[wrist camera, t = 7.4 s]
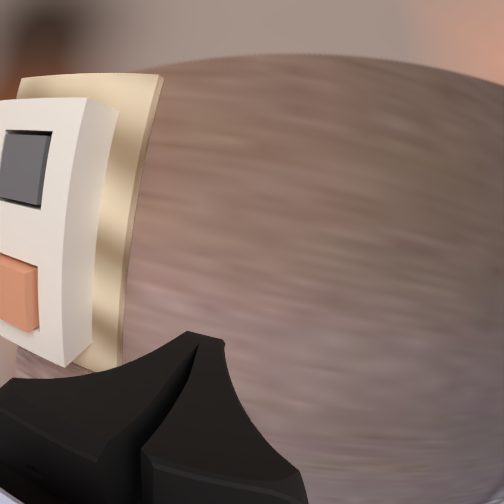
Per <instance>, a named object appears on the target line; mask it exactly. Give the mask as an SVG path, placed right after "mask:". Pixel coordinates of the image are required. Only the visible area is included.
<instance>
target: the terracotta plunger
mask: <svg viewBox="0 0 504 504" xmlns="http://www.w3.org/2000/svg"><path fill="white" fill-rule="evenodd" d="M0 319H1V320H3V321H5V322H7V323H9V324H11V325H13V326H15V327H17V328H19V329H21V330H23V331H25V332H27V333H29V332H30V331H32V330H33V329H35V328H36V327H38V326H39V308H38V266H35V265H32V264H30V263H27V262H24V261H21V260H19V259H16V258H13V257H11V256H8V255H5V254H3V253H1V254H0Z"/></svg>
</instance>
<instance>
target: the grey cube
mask: <svg viewBox="0 0 504 504" xmlns="http://www.w3.org/2000/svg"><path fill="white" fill-rule="evenodd" d="M50 142H51V137H50V136H39V135H18V134H6V136H5V141H4V147H3V153H2V160H1V166H0V197H4V198H8V199H12V200H17V201H21V202H26V203H30V204H34V205H40V204H41V203H42V194H43V186H44V178H45V171H46V165H47V159H48V153H49V148H50Z"/></svg>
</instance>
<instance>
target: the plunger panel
mask: <svg viewBox="0 0 504 504" xmlns="http://www.w3.org/2000/svg"><path fill="white" fill-rule="evenodd" d="M118 113H119V111H117V110H115V109H113V108H110V107H108V106H106V105H103V104H101V103H99V102H96V101H94V100H92V99H89V98H78V97H66V98H31V99H16V100H2V101H0V166H1V160H2V153H3V147H4V141H5V136H6V134H18V135H39V136H41V135H52V137H51V142H50V148H49V153H48V159H47V165H46V171H45V178H44V186H43V194H42V203H41V204H40V205H34V204H30V203H26V202H21V201H17V200H12V199H8V198H4V197H0V254H1V253H3V254H5V255H8V256H11V257H13V258H16V259H19V260H21V261H24V262H27V263H30V264H32V265H35V266H38V308H39V326H38V327H36V328H35V329H33V330H32V331H30V332H29V333H27V332H25V331H23V330H21V329H19V328H17V327H15V326H13V325H11V324H9V323H7V322H5V321H3V320H1V319H0V335H1V336H3V337H4V338H6V339H8V340H10V341H12V342H13V343H15V344H17V345H19V346H21V347H23V348H25V349H27V350H29V351H31V352H33V353H34V354H36V355H39V356H41V357H43V358H45V359H47V360H49V361H51V362H53V363H55V364H57V365H60V366H62V367H64V368H65V367H66V366H67V365H68V364H70V363H71V362H72V361H73V360H74V359H75V358H76V357H77V356H78V355H79V354H80V353H81V352H82V351H84V350H85V349H86V348H87V347H88V346H89V345H90V344H91V343H92V299H93V278H94V263H95V251H96V241H97V231H98V222H99V214H100V207H101V200H102V193H103V187H104V181H105V175H106V169H107V164H108V158H109V153H110V148H111V143H112V139H113V134H114V130H115V125H116V121H117V117H118Z"/></svg>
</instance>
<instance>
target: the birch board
mask: <svg viewBox="0 0 504 504" xmlns="http://www.w3.org/2000/svg"><path fill="white" fill-rule="evenodd" d="M163 81H164V79H163V78H162V77H161V76H160V75H155V74H132V73H89V74H88V73H86V74H66V75H65V74H64V75H50V76H39V77H30V78H22V80H21V83H20V87H19V90H18V94H17V97H16V99H31V98H66V97H78V98H89V99H92V100H94V101H96V102H99V103H101V104H103V105H106V106H108V107H110V108H113V109H115V110H117V111H119V113H118V117H117V121H116V125H115V130H114V134H113V139H112V143H111V148H110V153H109V158H108V164H107V169H106V175H105V181H104V187H103V193H102V200H101V207H100V214H99V222H98V231H97V241H96V251H95V263H94V278H93V299H92V343H91V344H90V345H89V346H88V347H87V348H86V349H85V350H84V351H82V352H81V353H80V354H79V355H78V356H77V357H76V358H75V359H74V360H73V361H72V363H75V364H77V365H80V366H82V367H84V368H87V369H89V370H92V371H94V372H101V371H105V370H109V369H112V368H115V367H118V366H121V365H122V342H123V322H124V306H125V294H126V282H127V272H128V263H129V254H130V246H131V238H132V231H133V224H134V217H135V210H136V204H137V198H138V192H139V186H140V181H141V175H142V170H143V165H144V160H145V155H146V150H147V146H148V141H149V137H150V132H151V128H152V124H153V119H154V115H155V111H156V107H157V103H158V99H159V96H160V92H161V88H162V85H163ZM41 136H50V137H52V135H41Z"/></svg>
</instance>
